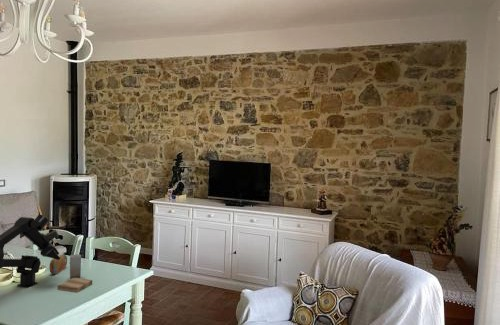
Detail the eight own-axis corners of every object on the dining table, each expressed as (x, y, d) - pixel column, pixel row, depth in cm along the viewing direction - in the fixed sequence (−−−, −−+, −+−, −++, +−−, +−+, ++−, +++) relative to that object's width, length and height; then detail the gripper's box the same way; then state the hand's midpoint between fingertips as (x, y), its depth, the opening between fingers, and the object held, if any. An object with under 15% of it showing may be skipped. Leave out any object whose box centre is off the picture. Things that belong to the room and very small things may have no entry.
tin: (53, 276, 208) (54, 260, 207) (48, 275, 208) (48, 260, 207) (67, 267, 223) (67, 252, 222) (62, 266, 223) (62, 252, 222)
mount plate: (77, 292, 188) (77, 288, 188) (57, 289, 190) (57, 285, 190) (92, 283, 199) (92, 280, 199) (73, 281, 202) (73, 277, 202)
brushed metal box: (80, 280, 204) (81, 256, 203) (69, 281, 202) (70, 257, 201) (79, 276, 208) (80, 254, 208) (68, 278, 206) (69, 255, 205)
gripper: (49, 229, 190) (72, 249, 195) (48, 221, 206) (70, 240, 212) (30, 246, 186) (54, 266, 192) (30, 237, 202) (53, 256, 208)
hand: (59, 256), depth 201 cm, fingers open, 9 cm apart
